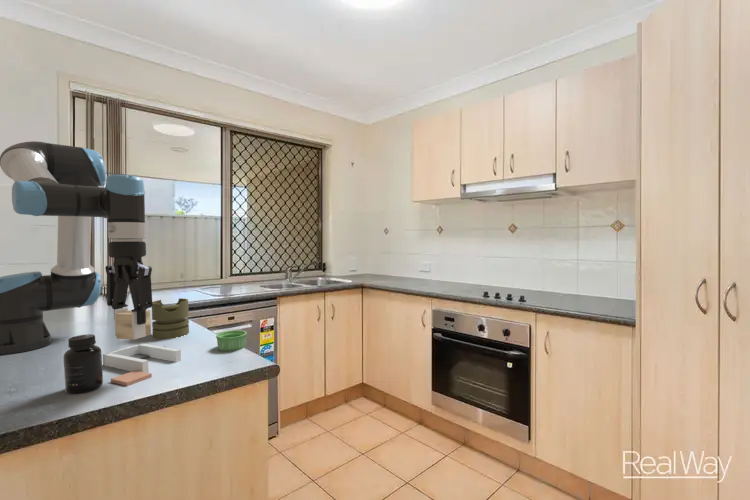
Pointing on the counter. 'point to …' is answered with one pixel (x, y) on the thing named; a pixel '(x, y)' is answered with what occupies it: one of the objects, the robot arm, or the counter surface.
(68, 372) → the supplement bottle
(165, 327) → the piston
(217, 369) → the counter surface
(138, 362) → the channel
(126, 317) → the block
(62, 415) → the counter surface
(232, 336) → the ramekin
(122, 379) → the tile
